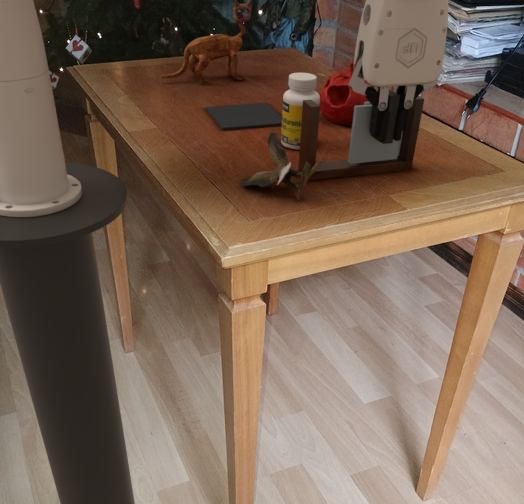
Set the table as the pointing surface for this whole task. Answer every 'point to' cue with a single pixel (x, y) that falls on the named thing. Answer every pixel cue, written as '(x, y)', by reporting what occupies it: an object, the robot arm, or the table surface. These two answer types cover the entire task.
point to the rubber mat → (245, 116)
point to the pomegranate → (340, 97)
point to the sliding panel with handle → (364, 143)
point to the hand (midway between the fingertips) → (385, 137)
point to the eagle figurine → (282, 169)
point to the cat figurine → (215, 48)
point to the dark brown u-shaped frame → (343, 166)
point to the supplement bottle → (296, 107)
